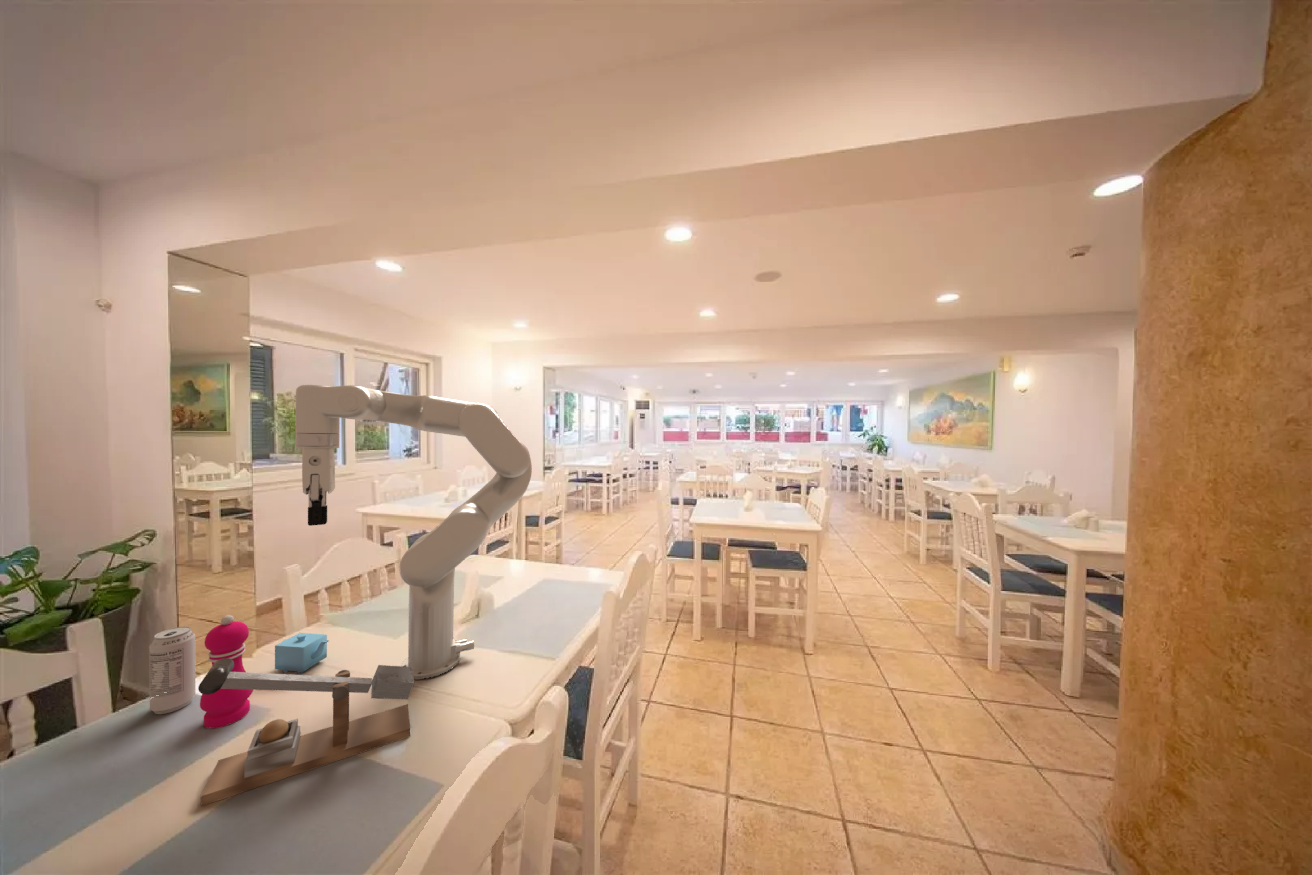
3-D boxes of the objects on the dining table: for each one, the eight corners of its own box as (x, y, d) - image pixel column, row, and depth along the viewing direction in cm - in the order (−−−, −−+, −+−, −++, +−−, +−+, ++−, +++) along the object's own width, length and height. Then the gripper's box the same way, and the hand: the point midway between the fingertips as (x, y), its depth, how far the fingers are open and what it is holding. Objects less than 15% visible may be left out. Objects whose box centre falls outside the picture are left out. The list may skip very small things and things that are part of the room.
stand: (408, 711, 84) (408, 651, 84) (410, 736, 77) (410, 671, 77) (218, 768, 69) (218, 696, 69) (201, 805, 63) (200, 726, 62)
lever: (405, 683, 83) (412, 667, 83) (407, 699, 78) (414, 682, 78) (208, 674, 67) (217, 655, 68) (194, 694, 62) (204, 673, 63)
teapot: (339, 661, 101) (339, 630, 101) (317, 676, 95) (317, 643, 95) (294, 658, 102) (294, 627, 102) (268, 672, 96) (268, 640, 96)
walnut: (290, 731, 72) (290, 711, 72) (286, 745, 69) (286, 724, 69) (262, 740, 70) (262, 719, 70) (256, 754, 67) (256, 732, 67)
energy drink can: (204, 695, 88) (203, 624, 87) (176, 714, 82) (175, 638, 81) (170, 697, 87) (170, 625, 86) (139, 717, 81) (139, 640, 80)
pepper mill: (218, 733, 77) (218, 626, 76) (189, 727, 78) (188, 621, 78) (263, 707, 84) (263, 609, 84) (235, 702, 85) (234, 605, 85)
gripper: (336, 442, 88) (335, 529, 88) (341, 440, 100) (341, 516, 101) (289, 443, 84) (289, 533, 84) (301, 440, 96) (301, 519, 97)
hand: (317, 524), depth 93 cm, fingers closed
